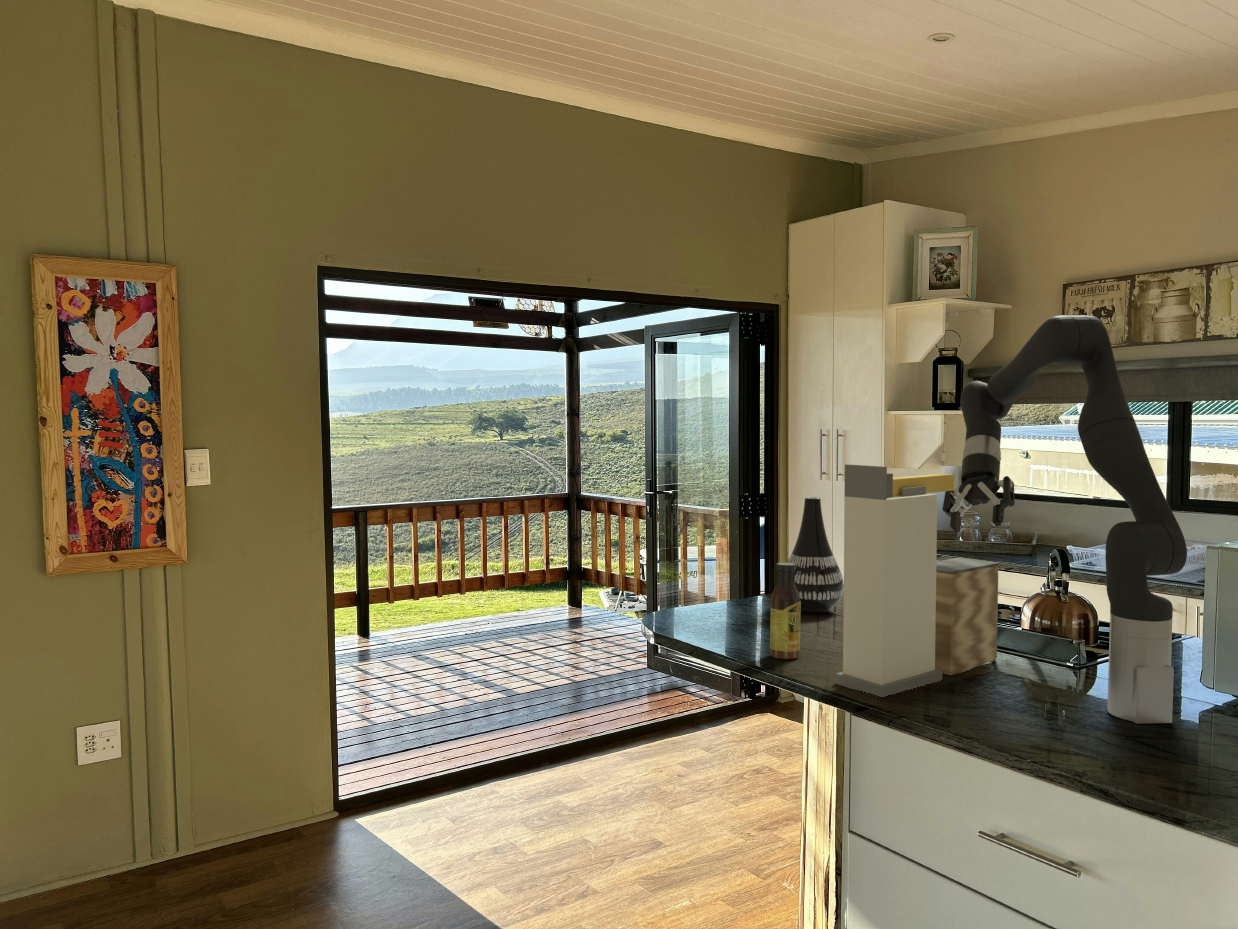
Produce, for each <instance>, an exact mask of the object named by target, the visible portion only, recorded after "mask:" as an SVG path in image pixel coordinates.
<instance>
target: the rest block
mask: <svg viewBox="0 0 1238 929" xmlns="http://www.w3.org/2000/svg"><path fill="white" fill-rule="evenodd" d="M999 564H1000V563H999V562H994V561H988V560H980V559H974V558H967V557H953V558H949V559H941V560H936V626H935V668H936V669H940V670H942V675H947V676H950V675H951V676H954V675H958V674H961V673H964V672H966V670H967V671H970V669H971V670H973V669H972V668H974V669H976V668H975V667H977V666H980V665H983V664H985V663H987V662H990V661H992V660H994V659H996V658H998V655H997V654H998V618H999V617H998V613H999V611H998V609H999V604H998V603H999Z"/></svg>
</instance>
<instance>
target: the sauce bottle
mask: <svg viewBox="0 0 1238 929" xmlns="http://www.w3.org/2000/svg"><path fill="white" fill-rule="evenodd" d="M775 565H776V573H777V574H776V586H775V588H774V589H773V590H772V592H771V597H770V598H771V600H770V601H771V605H770V616H769V618H770V620H769V621H770V622H769V625H770V626H769V627H770V628H769V630H770V631H769V634H770V635H769V636H770V637H769V648H770V655H771V657H772V658H774V659H779V660H794V659H797V658H799V655H800V650H801V612H800V610H801V601H800V598H799V595H798V592H797V589H796V586H795V571H796V564H794V563H787V562H777V563H776V564H775Z"/></svg>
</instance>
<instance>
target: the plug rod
mask: <svg viewBox="0 0 1238 929" xmlns="http://www.w3.org/2000/svg"><path fill="white" fill-rule="evenodd" d="M920 486H926V494H935V493H940V492H941V493H942V492H944V493H945V491H954V489H955V474H953V473H952V474H951V473H931V474H919V475H909V476H908V475H907V476H895V477H894V473H890V472H889V473H888V472H887V497H886V498H889V497H894V496H900V495H901V488H909V487H920Z"/></svg>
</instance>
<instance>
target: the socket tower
mask: <svg viewBox="0 0 1238 929" xmlns="http://www.w3.org/2000/svg"><path fill="white" fill-rule="evenodd" d="M887 470H888V468H887V466H882V465H881V466H880V465H867V464H866V465H864V464H849V463H848V464H844V507H843V508H844V509H843V511H844V512H843V513H844V515H843V516H844V518H843V520H844V521H843V523H844V526H843V527H844V528H843V530H844V532H843V583H844V590H843V619H842V620H843V621H842V622H843V627H842V628H843V629H842V630H843V632H842V636H843V638H842V639H843V640H842V642H843V644H842V645H843V646H842V647H843V649H842V651H843V652H842V671H841V672H836V673H835V680H834V681H835V683H834V684H835V685H838V686H842V687H843V688H844V687H845V688H848V689H852V690H854V689H855V690H854V691H857V690H859V691H858V692H860V691H863V692H862V693H864V692H866V693H865V694H867V693H870V694H874V695H877V696H880V697H885V696H888V695H891V694H895V693H899V692H902V691H905V690H909V691H910V689H912V690H914V689H913V688H915V689H918V688H917V687H919V688H921V687H920V686H922V687H924V685H925V686H927V685H926V684H929V685H931V684H930V683H932V684H934V683H933V682H935V683H939V682H941V680H942V681H943V674H942V670H940V669H936V668H935V626H936V561H937V550H938V548H937V546H938V543H937V542H938V540H937V539H938V538H937V537H938V494H936V493H926V486H920V487H909V488H901V495H900V496H894V497H889V498H886V497H887V473H888V471H887ZM938 681H939V682H938ZM905 692H906V691H905ZM902 693H903V692H902ZM870 694H869V695H870ZM899 694H900V693H899ZM895 695H896V694H895ZM877 696H876V697H877ZM880 697H879V698H880ZM885 698H886V697H885Z"/></svg>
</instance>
